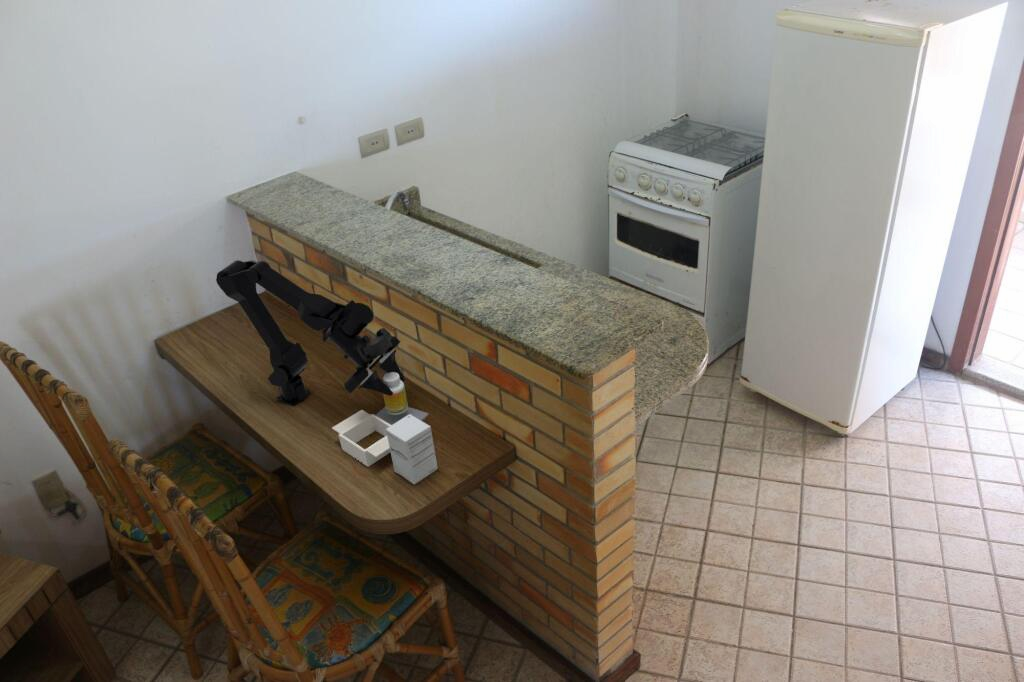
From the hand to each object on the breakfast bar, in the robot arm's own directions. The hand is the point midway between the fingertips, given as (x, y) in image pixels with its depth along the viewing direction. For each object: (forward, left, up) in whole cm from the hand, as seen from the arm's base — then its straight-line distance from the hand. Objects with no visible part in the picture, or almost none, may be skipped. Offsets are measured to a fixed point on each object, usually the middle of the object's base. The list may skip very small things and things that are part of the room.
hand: (398, 388), depth 203 cm
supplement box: (+15, -14, -10) cm, 23 cm away
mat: (-1, 0, -9) cm, 9 cm away
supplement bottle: (-1, 0, -7) cm, 7 cm away
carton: (0, -12, -9) cm, 15 cm away
